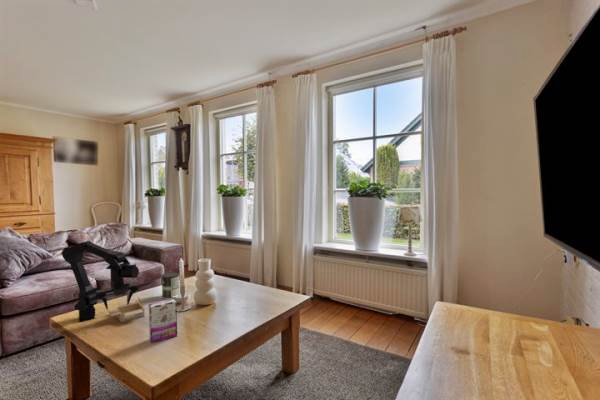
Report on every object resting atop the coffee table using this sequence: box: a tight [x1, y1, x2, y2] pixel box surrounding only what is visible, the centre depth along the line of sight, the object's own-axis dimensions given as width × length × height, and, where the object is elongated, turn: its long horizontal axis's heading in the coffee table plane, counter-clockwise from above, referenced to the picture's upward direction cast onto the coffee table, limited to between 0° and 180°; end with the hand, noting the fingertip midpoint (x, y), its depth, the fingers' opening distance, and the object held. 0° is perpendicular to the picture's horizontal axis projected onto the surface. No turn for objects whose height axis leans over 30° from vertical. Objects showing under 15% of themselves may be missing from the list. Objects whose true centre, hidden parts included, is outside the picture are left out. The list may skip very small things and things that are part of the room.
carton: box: [107, 302, 145, 323], centre depth 153 cm, size 15×15×4 cm
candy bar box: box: [148, 298, 178, 344], centre depth 133 cm, size 11×5×16 cm, turn 126°
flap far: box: [137, 296, 145, 308], centre depth 159 cm, size 1×8×4 cm, turn 41°
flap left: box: [117, 298, 137, 307], centre depth 161 cm, size 8×1×4 cm
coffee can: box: [161, 271, 180, 300], centre depth 185 cm, size 10×10×14 cm
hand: (117, 307), depth 151 cm, fingers open, 9 cm apart
